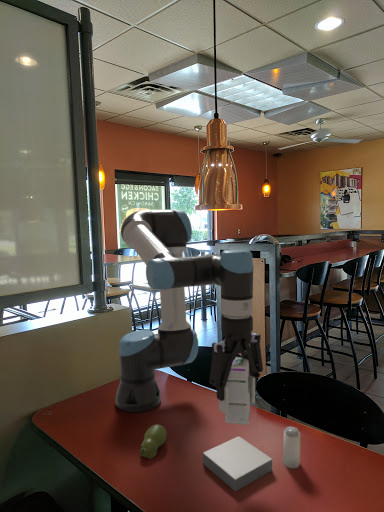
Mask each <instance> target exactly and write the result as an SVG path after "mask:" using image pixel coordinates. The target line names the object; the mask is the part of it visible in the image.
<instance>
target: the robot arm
mask: <svg viewBox="0 0 384 512" xmlns="http://www.w3.org/2000/svg"><path fill="white" fill-rule="evenodd" d="M192 228H193V227H192V224H191V220H190V218H189V216H188V215H187V213H186V212H185V211H184V210H181V209H173V208H172V209H142V210H137V211H134V212H133V213H130V214H128V216H127V217H126V218H125V219H124V221H122V224H121V227H120V236H121V239H122V241H123V242H124V243H125V245H126V246H127V247H129V248H130V249H133V250H134V251H135V252H136V254H137V255H138V257H140V259H141V261H143V263H144V265H145V278H146V281H147V285H148V287H149V288H150V289H152V290H159V296H160V311H161V313H160V315H161V317H160V318H161V323H160V324H159V325H158V326H157V333H154V332H153V331H152V330H151V329H139V330H135V331H131V332H129V333H126V334H124V336H122V337H121V338H120V340H119V346H118V347H119V349H118V356H119V358H118V359H119V376H120V377H119V384H118V388H117V391H116V395H115V406H116V407H117V408H118V409H119V410H121V411H124V412H129V413H141V412H146V411H147V412H148V411H150V410H153V409H154V408H156V407H157V406H159V405H160V404H161V400H162V399H161V398H162V397H161V396H162V394H161V389H160V387H159V385H158V381H157V379H156V370H160V369H165V368H171V367H172V368H173V367H176V366H183V365H186V364H190V363H193V362H194V361H195V359H196V357H197V356H198V352H199V339H198V334H197V331H195V329H193V328H192V325H191V323H189V322H188V320H187V312H186V311H187V310H186V294H185V293H186V291H185V288H188V287H189V288H191V287H200V286H201V287H202V286H211V285H212V286H213V285H217V286H220V313H221V316H220V321H221V322H220V329H221V332H222V338H221V341H219V342H212V344H211V349H212V357H211V364H210V374H209V383H208V384H209V385H211V386H213V387H215V388H216V399H217V400H218V411H220V412H221V413H223V414H224V415H225V414H226V415H227V414H229V393H228V387H227V386H226V383H227V380H228V376H229V373H230V370H231V366H232V363H233V360H235V358H236V357H237V355H239V354H240V355H241V357H243V358H245V359H247V360H248V361H249V386H250V404H255V403H256V388H257V386H258V385H257V384H258V383H257V382H258V381H257V379H258V378H260V377H261V373H263V371H264V365H263V359H262V349H261V338H262V337H261V334H258V333H255V332H253V330H254V317H253V316H252V315H253V314H254V313H253V312H254V306H253V305H254V300H253V298H254V296H253V295H254V262H253V261H254V258H253V253H252V252H251V250H248V249H225V250H222V252H221V253H220V254H218V253H207V254H204V255H198V256H183V253H184V251H185V250H186V249H187V244H188V243H189V242H190V241H191V240H192V236H193V229H192Z"/></svg>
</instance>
